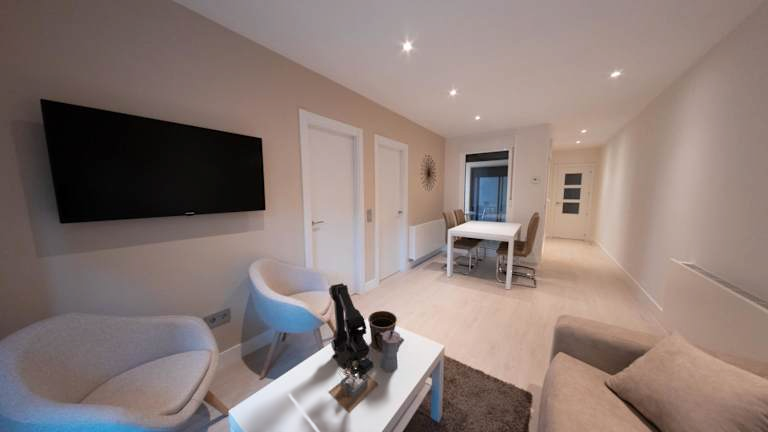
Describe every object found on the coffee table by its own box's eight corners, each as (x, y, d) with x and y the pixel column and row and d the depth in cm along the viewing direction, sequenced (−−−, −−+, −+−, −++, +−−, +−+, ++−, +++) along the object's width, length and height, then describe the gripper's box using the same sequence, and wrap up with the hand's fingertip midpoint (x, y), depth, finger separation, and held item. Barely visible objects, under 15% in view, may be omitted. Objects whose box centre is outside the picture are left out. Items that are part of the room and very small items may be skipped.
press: (338, 390, 103) (338, 382, 102) (355, 376, 110) (355, 369, 109) (351, 402, 98) (351, 394, 97) (367, 387, 105) (367, 379, 104)
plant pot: (370, 333, 142) (371, 309, 140) (397, 336, 140) (398, 311, 137) (365, 352, 126) (365, 326, 124) (394, 356, 124) (395, 329, 122)
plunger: (344, 382, 103) (344, 368, 102) (354, 374, 108) (354, 360, 107) (353, 390, 100) (353, 376, 98) (363, 381, 104) (363, 367, 103)
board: (328, 393, 102) (328, 391, 102) (358, 368, 116) (358, 367, 116) (349, 415, 93) (349, 413, 93) (379, 385, 107) (379, 384, 106)
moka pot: (402, 377, 111) (403, 339, 108) (370, 371, 114) (371, 335, 111) (404, 362, 120) (405, 327, 117) (375, 357, 123) (375, 323, 120)
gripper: (325, 341, 101) (326, 373, 103) (354, 364, 88) (354, 399, 91) (345, 329, 109) (346, 358, 111) (374, 349, 97) (374, 381, 99)
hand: (354, 373), depth 103 cm, fingers open, 8 cm apart
